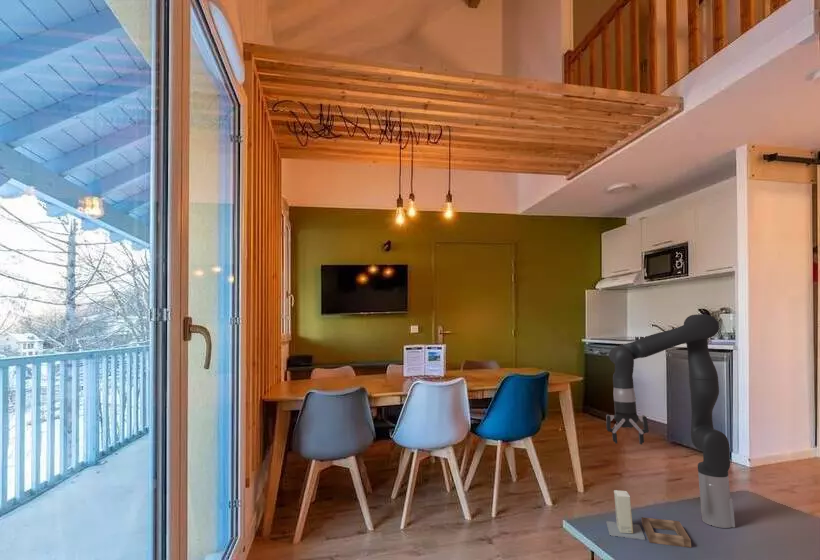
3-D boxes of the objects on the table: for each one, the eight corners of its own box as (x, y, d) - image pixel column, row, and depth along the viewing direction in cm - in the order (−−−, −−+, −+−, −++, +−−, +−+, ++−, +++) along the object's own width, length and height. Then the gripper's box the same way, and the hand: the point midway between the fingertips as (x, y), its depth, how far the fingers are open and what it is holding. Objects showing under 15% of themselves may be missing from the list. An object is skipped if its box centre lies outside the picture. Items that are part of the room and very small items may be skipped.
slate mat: (639, 526, 158) (639, 524, 158) (645, 540, 147) (645, 538, 147) (606, 522, 161) (606, 521, 161) (609, 535, 151) (609, 534, 151)
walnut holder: (679, 528, 155) (679, 521, 155) (691, 547, 142) (690, 539, 142) (641, 524, 159) (641, 517, 159) (649, 542, 146) (649, 534, 146)
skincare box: (633, 534, 151) (631, 497, 152) (619, 533, 152) (617, 496, 153) (629, 526, 157) (626, 490, 158) (615, 525, 158) (613, 489, 159)
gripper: (643, 398, 170) (647, 441, 168) (603, 397, 174) (606, 440, 172) (647, 401, 162) (651, 447, 161) (605, 401, 167) (609, 445, 165)
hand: (628, 443), depth 166 cm, fingers open, 8 cm apart
